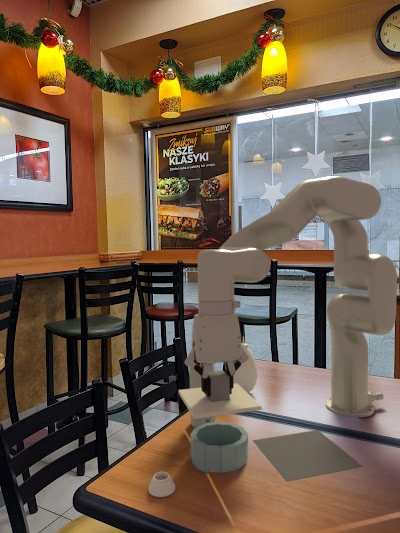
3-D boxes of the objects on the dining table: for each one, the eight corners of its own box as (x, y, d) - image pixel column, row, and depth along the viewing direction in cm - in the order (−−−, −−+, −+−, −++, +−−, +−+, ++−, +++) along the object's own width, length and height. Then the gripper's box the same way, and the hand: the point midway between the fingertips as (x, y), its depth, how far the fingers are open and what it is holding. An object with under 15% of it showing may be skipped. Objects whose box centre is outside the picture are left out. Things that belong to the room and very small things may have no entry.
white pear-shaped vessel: (261, 391, 127) (260, 334, 126) (250, 400, 121) (249, 339, 120) (238, 387, 132) (237, 331, 131) (227, 395, 125) (225, 336, 124)
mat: (317, 432, 100) (317, 429, 100) (363, 469, 83) (363, 466, 83) (252, 442, 95) (252, 440, 95) (286, 484, 79) (286, 481, 79)
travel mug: (214, 433, 101) (212, 352, 99) (188, 431, 102) (186, 351, 101) (218, 422, 107) (217, 346, 105) (193, 420, 108) (191, 345, 107)
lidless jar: (180, 491, 78) (165, 480, 82) (179, 476, 78) (165, 465, 81) (158, 502, 75) (143, 490, 79) (157, 487, 74) (143, 475, 78)
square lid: (237, 386, 96) (236, 362, 96) (261, 409, 83) (261, 381, 82) (178, 393, 93) (178, 368, 92) (194, 418, 79) (193, 389, 79)
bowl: (236, 442, 96) (235, 419, 96) (256, 469, 84) (256, 443, 84) (186, 450, 93) (185, 426, 92) (200, 479, 81) (199, 452, 81)
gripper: (246, 303, 92) (247, 383, 93) (173, 307, 88) (175, 391, 89) (260, 308, 85) (261, 395, 86) (181, 313, 81) (183, 404, 82)
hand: (217, 392), depth 88 cm, fingers closed on square lid, 4 cm apart
